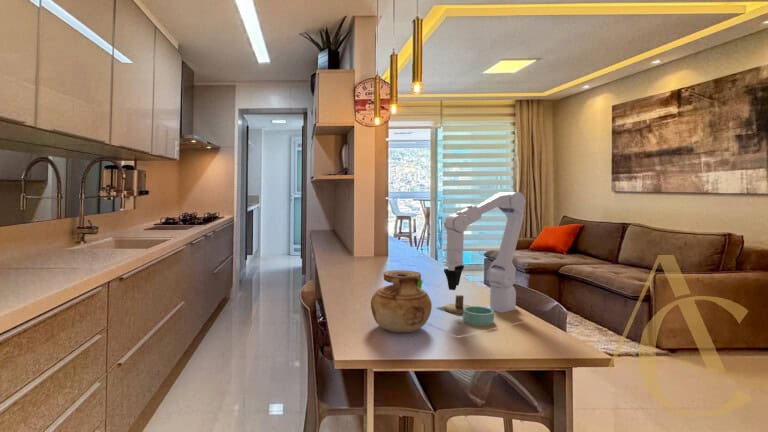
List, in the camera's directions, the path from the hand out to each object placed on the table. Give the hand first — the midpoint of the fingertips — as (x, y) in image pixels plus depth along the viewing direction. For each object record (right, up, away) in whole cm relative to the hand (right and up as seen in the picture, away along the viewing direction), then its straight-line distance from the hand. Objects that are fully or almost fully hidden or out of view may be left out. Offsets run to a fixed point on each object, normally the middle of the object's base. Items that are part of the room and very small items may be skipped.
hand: (453, 287), depth 146 cm
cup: (-15, -9, +6) cm, 19 cm away
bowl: (+7, -10, -7) cm, 14 cm away
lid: (+3, -9, +6) cm, 11 cm away
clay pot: (-19, -10, -16) cm, 27 cm away
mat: (+3, -10, +6) cm, 12 cm away
